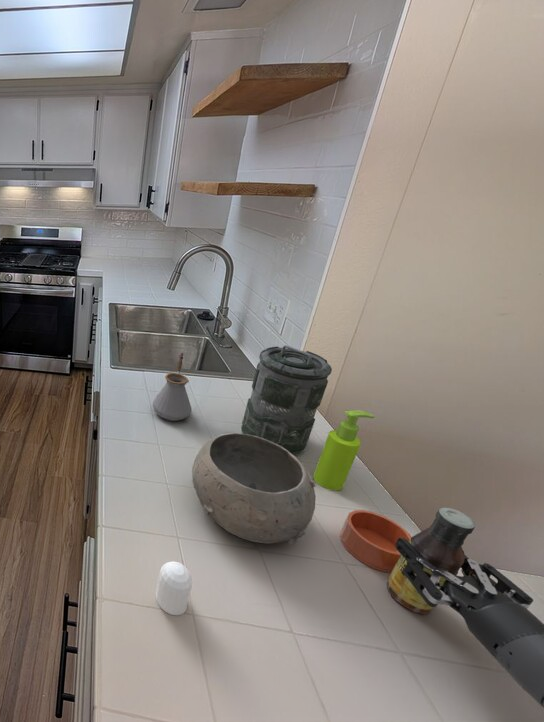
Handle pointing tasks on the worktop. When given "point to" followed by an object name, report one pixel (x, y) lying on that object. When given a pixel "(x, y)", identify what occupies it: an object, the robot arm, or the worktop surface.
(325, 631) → the worktop surface
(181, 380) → the coffee pot
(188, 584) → the capsule
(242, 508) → the bowl
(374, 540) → the holder
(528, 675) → the robot arm
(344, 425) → the soap dispenser
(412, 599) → the sauce bottle
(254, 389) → the canister
